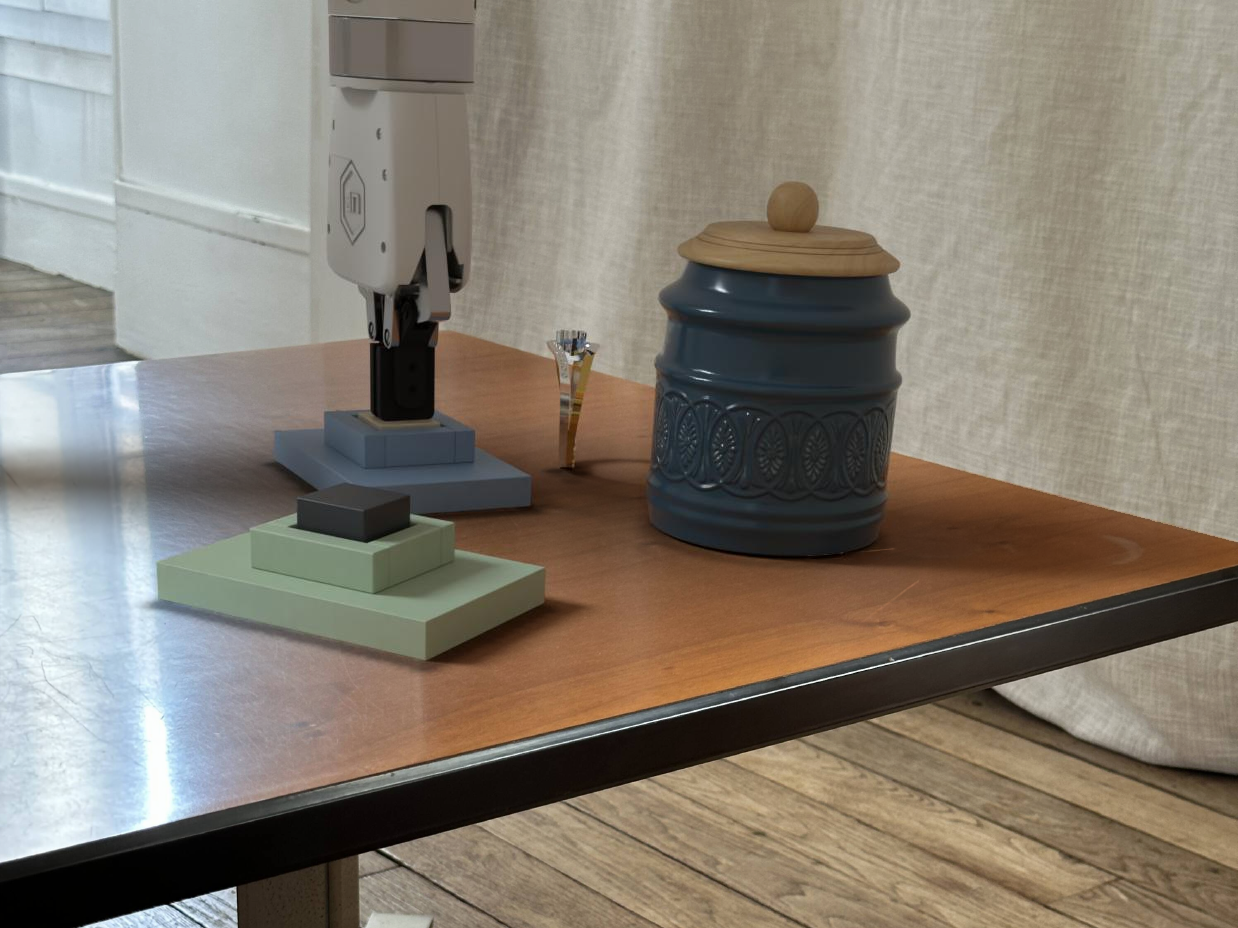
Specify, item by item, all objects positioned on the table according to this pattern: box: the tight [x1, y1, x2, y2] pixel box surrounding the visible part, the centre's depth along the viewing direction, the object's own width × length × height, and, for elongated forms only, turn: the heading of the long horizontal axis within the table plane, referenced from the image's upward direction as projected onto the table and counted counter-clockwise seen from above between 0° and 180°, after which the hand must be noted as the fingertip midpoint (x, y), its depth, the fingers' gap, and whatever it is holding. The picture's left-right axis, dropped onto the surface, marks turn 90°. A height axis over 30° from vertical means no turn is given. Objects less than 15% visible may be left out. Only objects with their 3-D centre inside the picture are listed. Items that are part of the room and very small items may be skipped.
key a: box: [296, 482, 410, 543], centre depth 77 cm, size 4×4×2 cm
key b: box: [358, 412, 441, 430], centre depth 98 cm, size 4×4×2 cm
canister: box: [644, 180, 912, 557], centre depth 91 cm, size 13×13×18 cm
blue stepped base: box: [273, 409, 533, 516], centre depth 99 cm, size 14×10×4 cm
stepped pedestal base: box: [155, 512, 547, 662], centre depth 78 cm, size 14×10×4 cm
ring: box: [545, 329, 601, 470], centre depth 104 cm, size 7×3×8 cm, turn 177°
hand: (402, 416), depth 98 cm, fingers closed
